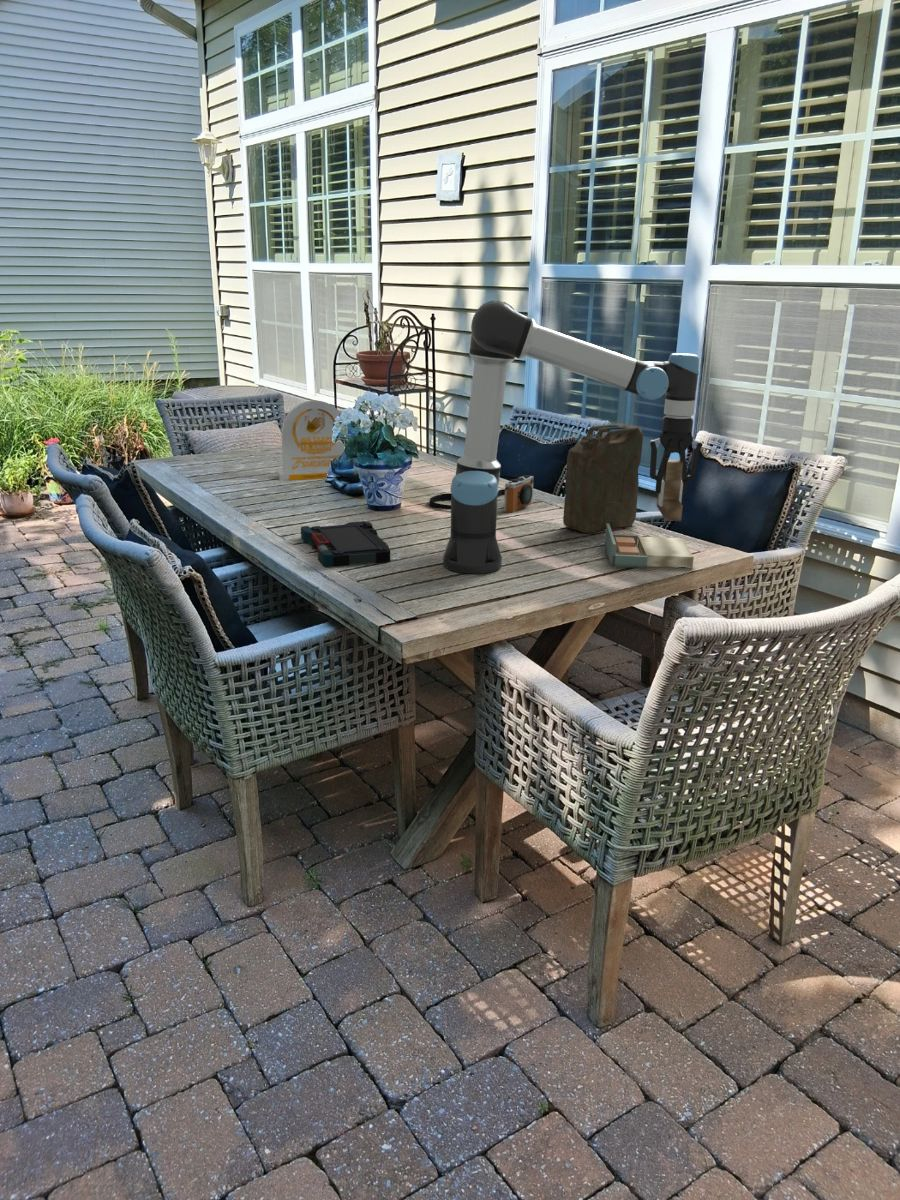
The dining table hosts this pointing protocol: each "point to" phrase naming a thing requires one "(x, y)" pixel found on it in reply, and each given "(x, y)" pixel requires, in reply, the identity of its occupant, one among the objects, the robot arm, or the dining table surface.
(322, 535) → the electronic device
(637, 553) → the tile front
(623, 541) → the tile back
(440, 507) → the camera
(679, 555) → the beige slotted plate
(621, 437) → the container
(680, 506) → the t-shaped wooden block
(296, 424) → the award
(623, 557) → the box
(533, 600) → the dining table surface
